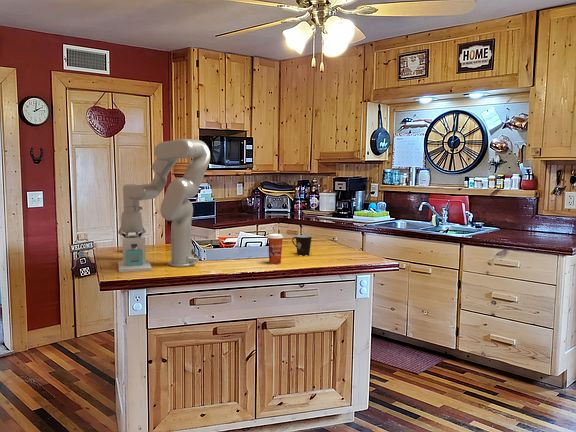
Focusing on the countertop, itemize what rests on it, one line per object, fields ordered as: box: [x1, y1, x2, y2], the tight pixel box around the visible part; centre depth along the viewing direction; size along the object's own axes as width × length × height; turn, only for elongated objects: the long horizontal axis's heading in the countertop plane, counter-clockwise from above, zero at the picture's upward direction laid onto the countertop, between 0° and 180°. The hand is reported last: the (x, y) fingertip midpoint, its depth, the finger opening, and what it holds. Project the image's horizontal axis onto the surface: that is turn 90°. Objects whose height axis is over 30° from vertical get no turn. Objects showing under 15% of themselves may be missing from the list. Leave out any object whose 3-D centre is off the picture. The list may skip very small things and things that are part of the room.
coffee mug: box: [291, 234, 313, 257], centre depth 281 cm, size 12×9×10 cm
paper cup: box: [267, 233, 284, 265], centre depth 258 cm, size 8×8×14 cm
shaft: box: [128, 234, 136, 249], centre depth 254 cm, size 20×3×4 cm, turn 19°
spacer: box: [126, 250, 143, 266], centre depth 242 cm, size 2×7×7 cm, turn 109°
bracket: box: [117, 236, 153, 273], centre depth 243 cm, size 18×14×14 cm
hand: (132, 245), depth 261 cm, fingers closed on shaft, 3 cm apart
